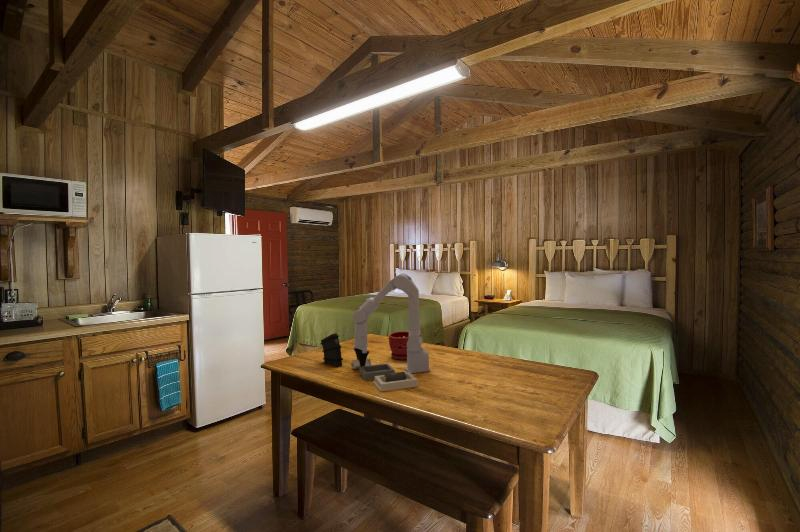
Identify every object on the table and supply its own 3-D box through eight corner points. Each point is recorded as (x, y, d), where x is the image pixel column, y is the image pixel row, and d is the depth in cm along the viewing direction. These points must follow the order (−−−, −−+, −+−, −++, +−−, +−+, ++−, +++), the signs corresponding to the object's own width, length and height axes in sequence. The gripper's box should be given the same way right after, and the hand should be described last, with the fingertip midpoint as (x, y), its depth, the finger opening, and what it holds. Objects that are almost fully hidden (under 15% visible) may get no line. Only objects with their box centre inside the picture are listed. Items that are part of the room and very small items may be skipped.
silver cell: (368, 362, 182) (369, 356, 180) (370, 369, 179) (371, 363, 177) (350, 364, 179) (351, 358, 177) (352, 371, 176) (352, 365, 174)
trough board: (409, 378, 164) (409, 371, 164) (418, 386, 154) (418, 379, 154) (373, 383, 159) (373, 376, 158) (380, 391, 149) (379, 384, 149)
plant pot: (391, 353, 202) (390, 330, 201) (416, 354, 200) (416, 331, 199) (387, 361, 189) (386, 336, 188) (413, 361, 187) (413, 337, 186)
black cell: (402, 379, 160) (402, 370, 159) (406, 383, 156) (406, 373, 155) (382, 382, 157) (382, 372, 156) (385, 386, 153) (385, 376, 153)
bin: (387, 369, 175) (387, 363, 175) (394, 376, 166) (394, 369, 166) (359, 373, 171) (359, 366, 171) (365, 380, 161) (364, 373, 161)
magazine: (340, 365, 178) (331, 334, 181) (326, 371, 186) (317, 341, 190) (346, 363, 180) (338, 332, 184) (332, 369, 189) (324, 340, 193)
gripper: (349, 332, 183) (349, 361, 184) (355, 339, 169) (356, 370, 170) (363, 331, 185) (364, 359, 186) (371, 338, 172) (371, 368, 172)
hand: (361, 364), depth 178 cm, fingers closed on silver cell, 4 cm apart
